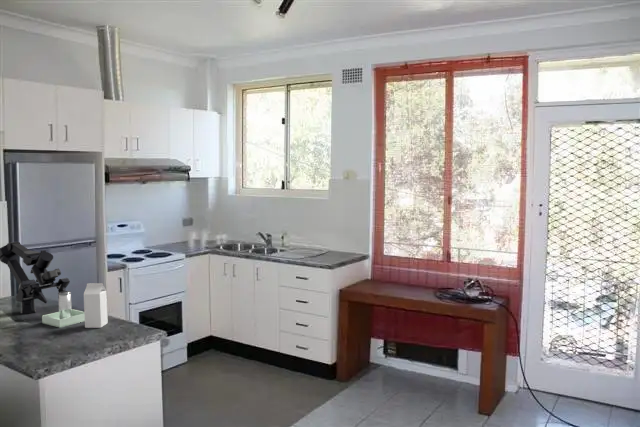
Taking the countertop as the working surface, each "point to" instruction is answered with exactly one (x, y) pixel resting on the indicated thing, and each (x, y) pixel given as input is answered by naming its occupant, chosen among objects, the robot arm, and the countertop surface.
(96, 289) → the milk carton
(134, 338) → the countertop surface
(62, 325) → the tray
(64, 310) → the steel canister
